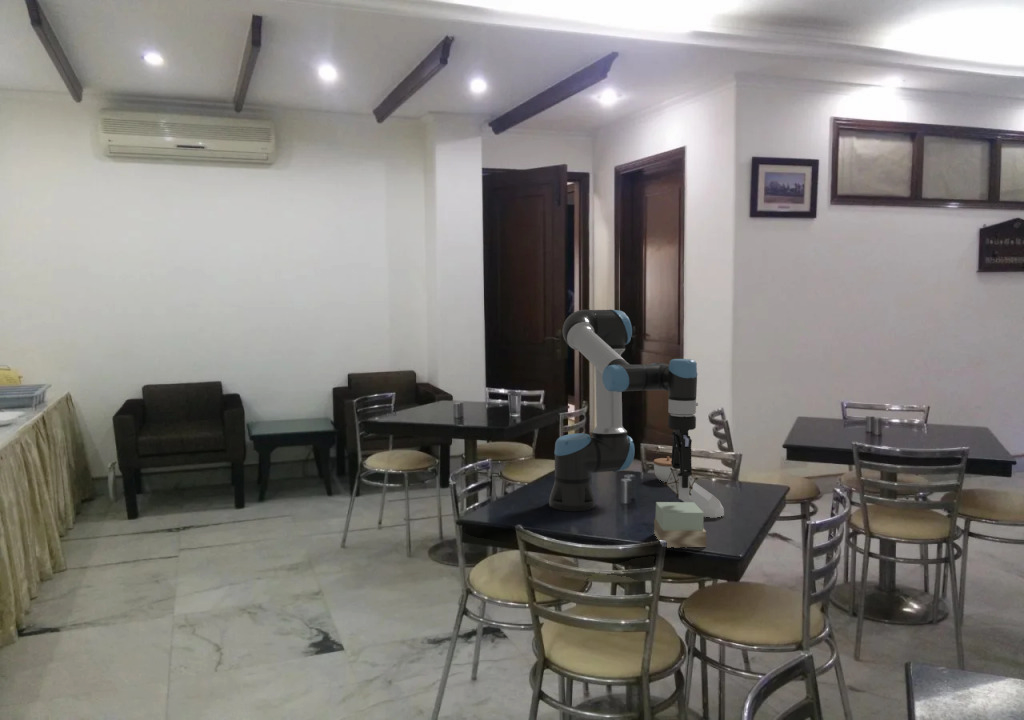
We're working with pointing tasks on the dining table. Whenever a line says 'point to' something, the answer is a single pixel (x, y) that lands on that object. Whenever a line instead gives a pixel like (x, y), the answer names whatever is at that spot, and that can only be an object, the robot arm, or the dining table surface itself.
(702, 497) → the chamfered grey bar
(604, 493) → the dining table surface
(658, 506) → the tower top block
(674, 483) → the game die
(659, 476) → the lidded jar
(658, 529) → the tower base block
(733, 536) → the dining table surface
